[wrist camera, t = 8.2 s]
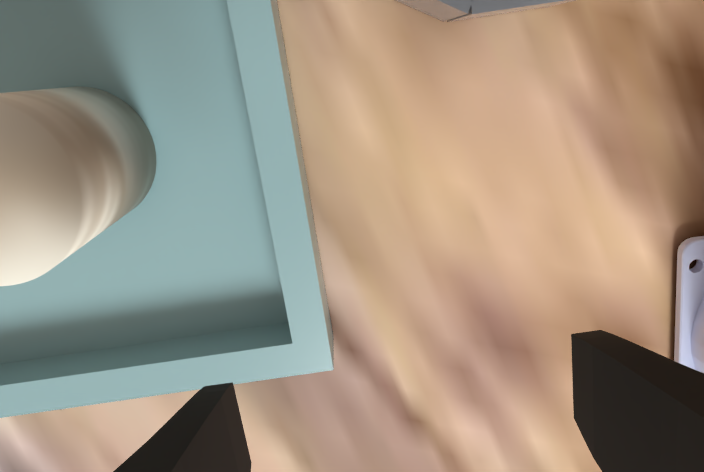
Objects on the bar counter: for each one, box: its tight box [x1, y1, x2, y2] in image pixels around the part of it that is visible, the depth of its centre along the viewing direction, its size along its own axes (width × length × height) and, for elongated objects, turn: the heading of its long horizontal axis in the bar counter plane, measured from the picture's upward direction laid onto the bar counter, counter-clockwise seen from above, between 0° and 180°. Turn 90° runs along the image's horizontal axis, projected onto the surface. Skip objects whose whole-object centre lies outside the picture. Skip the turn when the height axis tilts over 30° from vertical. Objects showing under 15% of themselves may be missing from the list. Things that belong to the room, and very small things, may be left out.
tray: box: [0, 0, 334, 418], centre depth 18 cm, size 16×18×2 cm
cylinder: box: [0, 86, 157, 286], centre depth 16 cm, size 4×4×6 cm
